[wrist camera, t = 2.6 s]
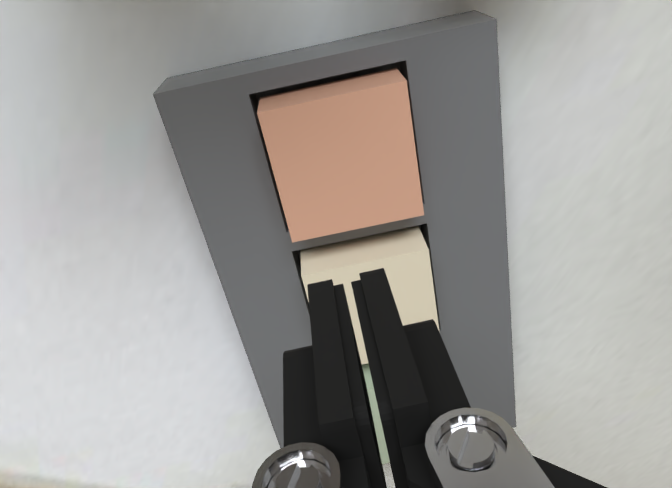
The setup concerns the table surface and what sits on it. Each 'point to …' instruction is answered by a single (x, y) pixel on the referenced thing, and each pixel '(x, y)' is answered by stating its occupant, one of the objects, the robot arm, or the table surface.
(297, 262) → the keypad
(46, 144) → the table surface
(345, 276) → the sand key
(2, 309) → the table surface
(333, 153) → the terracotta key
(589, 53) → the table surface
